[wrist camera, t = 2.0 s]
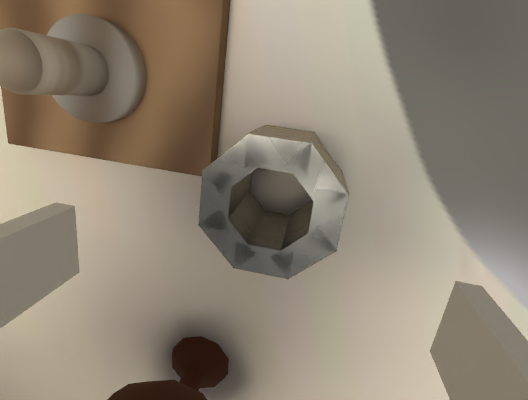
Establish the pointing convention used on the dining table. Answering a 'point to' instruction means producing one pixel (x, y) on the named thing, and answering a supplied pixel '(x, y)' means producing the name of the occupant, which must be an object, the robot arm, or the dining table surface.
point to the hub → (268, 223)
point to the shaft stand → (116, 78)
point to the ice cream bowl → (183, 373)
